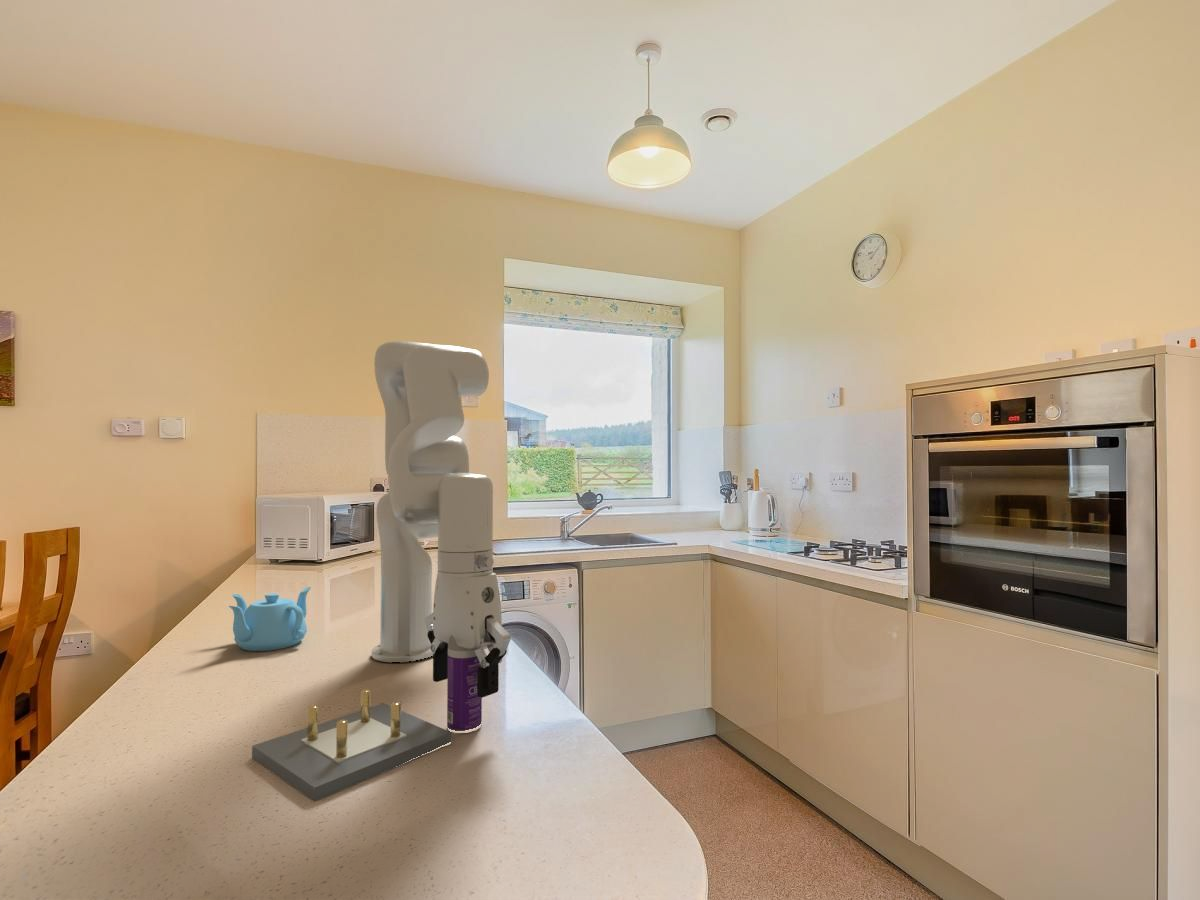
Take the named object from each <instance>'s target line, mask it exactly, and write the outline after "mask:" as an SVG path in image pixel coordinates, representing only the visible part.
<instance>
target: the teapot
mask: <svg viewBox="0 0 1200 900" xmlns="http://www.w3.org/2000/svg"><path fill="white" fill-rule="evenodd" d="M311 588H312V587H311V586H308V587H305V588H304V589H302V590H301V591H300V593H299V595H298V598H297V600H296V602H297V603H296V602H295V601H294V600H293V599H291V598H279V597H280V593H266V594H265V595H264V598H265V599H262V600H261V599H260V600H257V601H254V602H252V603H250V604H249V605H248V606H247V602H246V600H245V598H244V596H242V595H240V594H237V593H232V594H231V596H232V597H233V598H234V600H235V601H236V606H235V605H228V608H230V609H231V610H232V611H233V623H232V624H233V626H232V633H233V634H234V635H233V636H234V639H233V640H234V642H235V643H236V645H237V646H239V648H241V649H242V650H243V651H248V652H266V651H267V652H269V651H276V650H281V649H286V648H290V647H293V646H295V645H297V644H299V643H300V642H301V641H302V640H304V638H305V636H306V634H307V632H308V628H307V621H306V616H307V594H308V593H309V591H310V590H311Z"/></svg>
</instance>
